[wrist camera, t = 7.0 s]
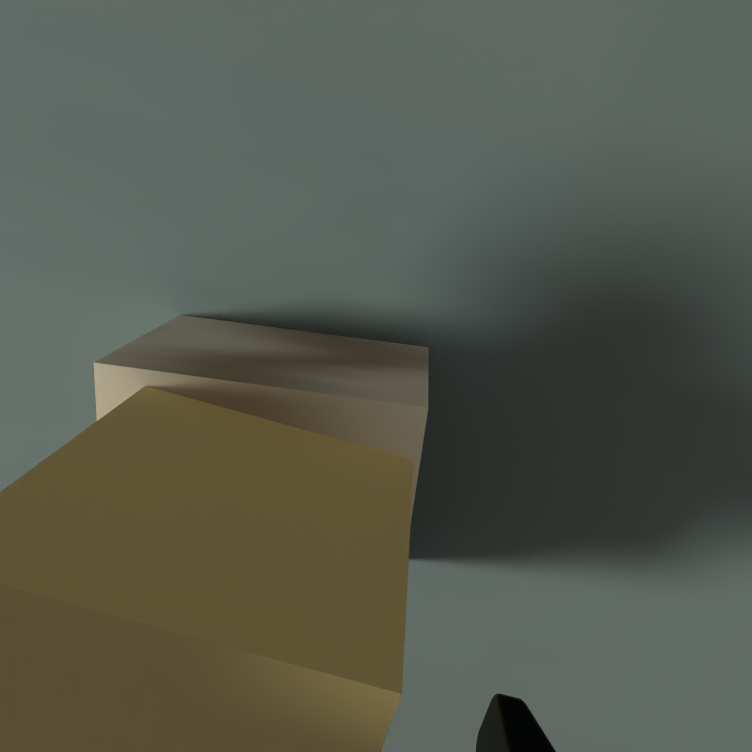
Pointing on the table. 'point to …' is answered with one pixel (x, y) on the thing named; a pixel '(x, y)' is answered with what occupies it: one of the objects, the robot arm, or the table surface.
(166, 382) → the birch base block
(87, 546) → the ochre block
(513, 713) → the robot arm
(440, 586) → the table surface
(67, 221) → the table surface
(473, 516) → the table surface
